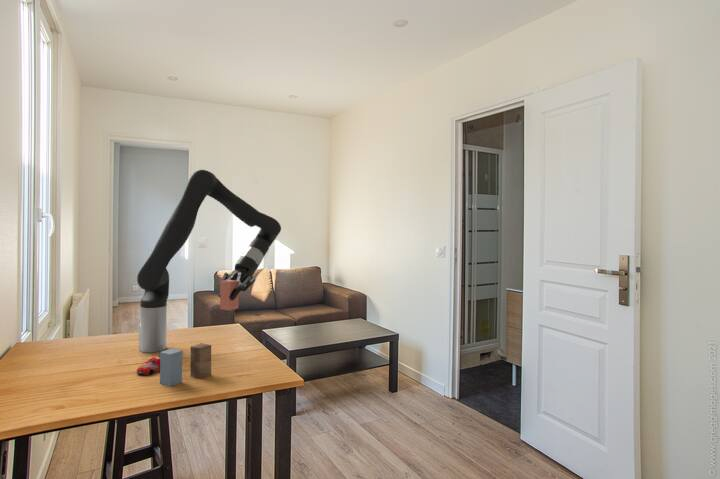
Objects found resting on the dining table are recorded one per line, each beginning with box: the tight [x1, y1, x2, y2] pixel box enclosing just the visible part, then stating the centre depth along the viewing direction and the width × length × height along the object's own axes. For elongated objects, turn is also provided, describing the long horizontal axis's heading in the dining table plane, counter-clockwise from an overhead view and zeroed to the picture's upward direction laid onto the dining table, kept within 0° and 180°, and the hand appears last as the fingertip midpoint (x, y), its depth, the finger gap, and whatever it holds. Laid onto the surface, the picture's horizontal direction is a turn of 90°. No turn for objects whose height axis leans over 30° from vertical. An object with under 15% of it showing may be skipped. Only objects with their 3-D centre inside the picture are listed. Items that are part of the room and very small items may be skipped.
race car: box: [136, 355, 160, 376], centre depth 144 cm, size 13×5×4 cm, turn 161°
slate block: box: [159, 348, 183, 387], centre depth 132 cm, size 4×4×10 cm
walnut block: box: [189, 342, 212, 380], centre depth 139 cm, size 4×4×10 cm
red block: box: [219, 280, 240, 311], centre depth 151 cm, size 4×4×10 cm
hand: (225, 297), depth 149 cm, fingers closed on red block, 4 cm apart
